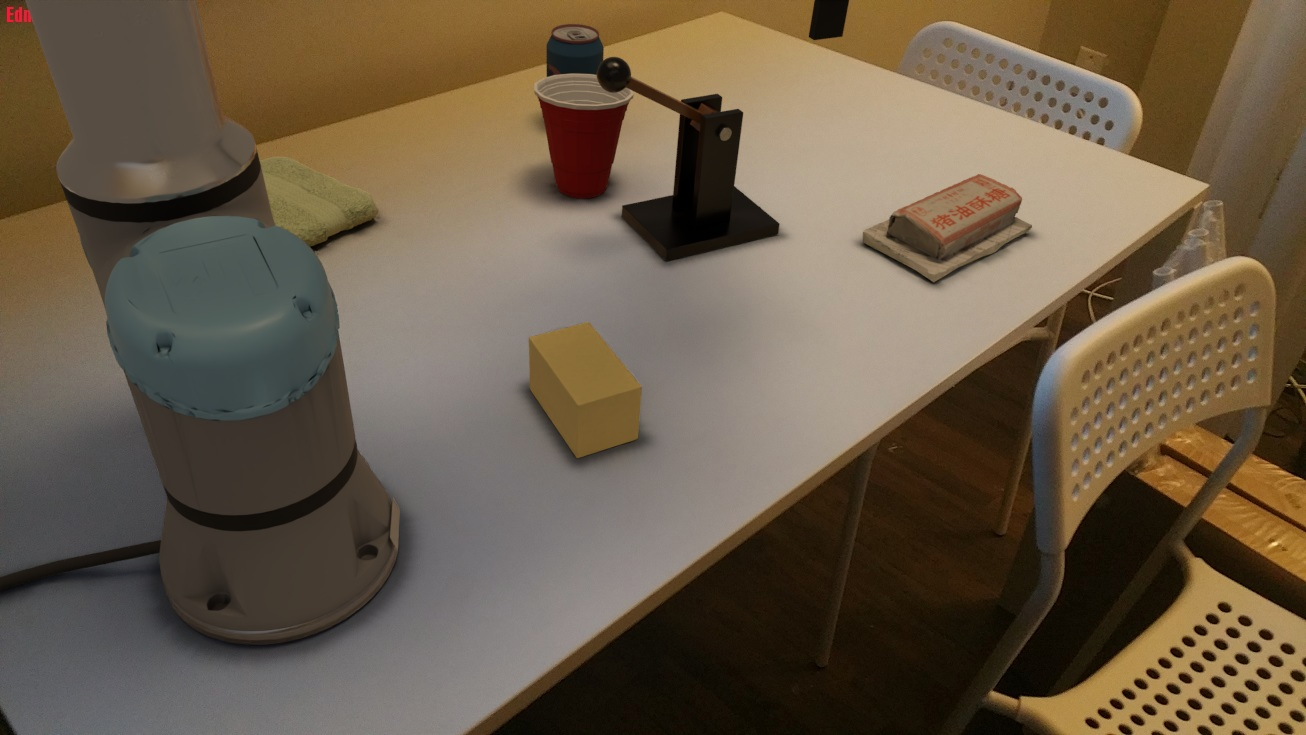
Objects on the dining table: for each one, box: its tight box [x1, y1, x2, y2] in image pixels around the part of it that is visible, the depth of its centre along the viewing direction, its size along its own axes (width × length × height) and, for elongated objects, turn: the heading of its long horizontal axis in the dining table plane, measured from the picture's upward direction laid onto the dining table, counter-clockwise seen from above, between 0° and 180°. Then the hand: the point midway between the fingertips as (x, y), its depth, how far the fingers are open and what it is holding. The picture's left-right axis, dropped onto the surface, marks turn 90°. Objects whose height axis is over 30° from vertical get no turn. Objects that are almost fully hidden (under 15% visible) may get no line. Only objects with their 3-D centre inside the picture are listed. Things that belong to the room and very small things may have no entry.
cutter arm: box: [597, 56, 718, 132], centre depth 96 cm, size 16×3×3 cm, turn 118°
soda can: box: [546, 23, 605, 77], centre depth 122 cm, size 7×7×12 cm
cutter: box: [621, 93, 781, 262], centre depth 103 cm, size 14×10×14 cm
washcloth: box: [259, 156, 379, 248], centre depth 103 cm, size 13×18×3 cm
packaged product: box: [862, 173, 1033, 283], centre depth 107 cm, size 18×5×10 cm
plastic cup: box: [533, 73, 635, 199], centre depth 109 cm, size 11×11×12 cm
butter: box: [528, 321, 643, 459], centre depth 80 cm, size 6×10×6 cm, turn 29°
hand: (777, 9), depth 81 cm, fingers open, 13 cm apart
